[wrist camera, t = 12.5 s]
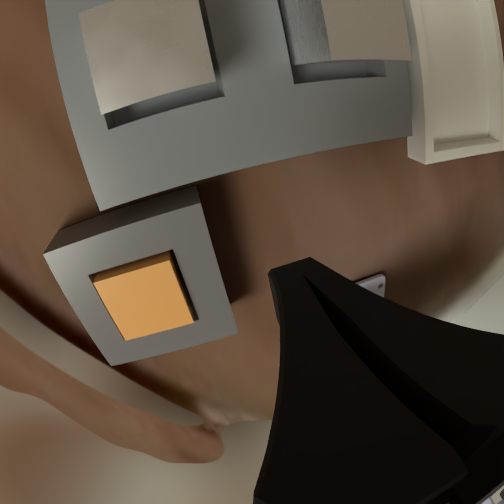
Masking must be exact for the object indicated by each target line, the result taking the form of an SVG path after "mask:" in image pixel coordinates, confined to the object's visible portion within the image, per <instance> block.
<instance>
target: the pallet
mask: <svg viewBox="0 0 504 504" xmlns="http://www.w3.org/2000/svg"><path fill="white" fill-rule="evenodd" d="M110 1H113V0H45V4H46V12H47V19H48V25H49V31H50V37H51V43H52V48H53V53H54V58H55V63H56V68H57V72H58V77H59V81H60V85H61V90H62V94H63V98H64V101H65V105H66V109H67V113H68V116H69V120H70V124H71V127H72V130H73V134H74V137H75V140H76V144H77V147H78V150H79V153H80V156H81V159H82V162H83V165H84V168H85V171H86V174H87V177H88V180H89V183H90V186H91V188H92V191H93V194H94V197H95V199H96V202H97V205H98V207H99V210H100V211H103V210H105V209H108V208H111V207H114V206H117V205H120V204H123V203H126V202H129V201H132V200H135V199H139V198H142V197H145V196H148V195H151V194H154V193H158V192H161V191H164V190H168V189H171V188H174V187H178V186H181V185H184V184H188V183H191V182H195V181H199V180H202V179H206V178H209V177H213V176H217V175H221V174H224V173H228V172H232V171H236V170H240V169H244V168H248V167H252V166H256V165H260V164H265V163H269V162H273V161H278V160H282V159H287V158H291V157H296V156H300V155H305V154H310V153H315V152H320V151H325V150H330V149H335V148H341V147H346V146H352V145H357V144H363V143H369V142H375V141H381V140H388V139H394V138H401V137H408V136H413V132H412V112H411V98H410V87H409V77H408V68H407V61H359V62H341V63H323V64H309V65H298V66H291V65H290V60H289V54H288V49H287V44H286V39H285V34H284V29H283V24H282V19H281V15H280V10H279V6H278V1H277V0H198V1H199V6H200V10H201V15H202V20H203V24H204V29H205V33H206V38H207V43H208V47H209V52H210V56H211V61H212V66H213V70H214V75H215V79H216V81H215V82H211V83H207V84H204V85H200V86H196V87H191V88H187V89H184V90H180V91H176V92H172V93H169V94H165V95H162V96H158V97H155V98H151V99H148V100H145V101H142V102H139V103H135V104H132V105H129V106H126V107H123V108H120V109H117V110H114V111H111V112H108V113H105V114H103V115H101V112H100V108H99V105H98V101H97V97H96V93H95V89H94V85H93V81H92V77H91V72H90V68H89V64H88V59H87V54H86V50H85V45H84V40H83V35H82V30H81V24H80V18H79V13H81V12H83V11H86V10H88V9H91V8H94V7H96V6H99V5H102V4H105V3H107V2H110Z"/></svg>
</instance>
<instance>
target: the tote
mask: <svg viewBox="0 0 504 504" xmlns="http://www.w3.org/2000/svg"><path fill="white" fill-rule="evenodd" d="M402 4H403V9H404V14H405V19H406V25H407V31H408V37H409V44H410V52H411V60H412V61H407V68H408V77H409V87H410V98H411V112H412V132H413V136H408V137H407V150H408V157H409V158H411V159H413V160H416V161H418V162H421V163H423V164H425V165H427V164H432V163H437V162H442V161H447V160H452V159H457V158H463V157H468V156H474V155H479V154H485V153H491V152H497V151H503V150H504V63H503V53H502V45H501V38H500V31H499V25H498V19H497V14H496V9H495V4H494V0H402Z"/></svg>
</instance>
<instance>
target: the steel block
mask: <svg viewBox="0 0 504 504" xmlns="http://www.w3.org/2000/svg"><path fill="white" fill-rule="evenodd" d="M277 1H278V6H279V10H280V15H281V19H282V24H283V29H284V34H285V39H286V44H287V49H288V54H289V60H290V65H291V66H298V65H309V64H323V63H341V62H359V61H412V60H411V52H410V44H409V37H408V31H407V25H406V19H405V14H404V9H403V4H402V0H277Z"/></svg>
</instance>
